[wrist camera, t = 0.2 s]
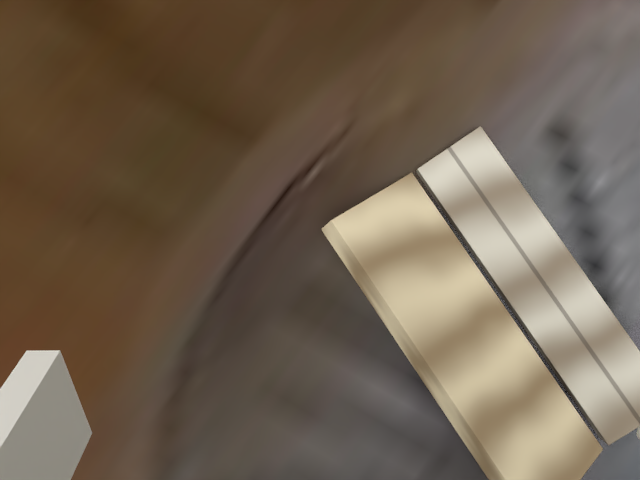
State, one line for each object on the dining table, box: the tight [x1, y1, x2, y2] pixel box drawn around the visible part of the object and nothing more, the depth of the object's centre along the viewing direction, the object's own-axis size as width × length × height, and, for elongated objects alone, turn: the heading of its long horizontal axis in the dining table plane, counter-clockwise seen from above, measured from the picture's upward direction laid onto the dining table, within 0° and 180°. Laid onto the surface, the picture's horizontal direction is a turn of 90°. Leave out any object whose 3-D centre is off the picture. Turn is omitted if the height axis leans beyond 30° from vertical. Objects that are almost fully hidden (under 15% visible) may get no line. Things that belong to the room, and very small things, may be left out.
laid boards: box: [416, 126, 640, 445], centre depth 45 cm, size 26×6×2 cm, turn 34°
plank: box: [321, 173, 603, 480], centre depth 43 cm, size 26×9×2 cm
